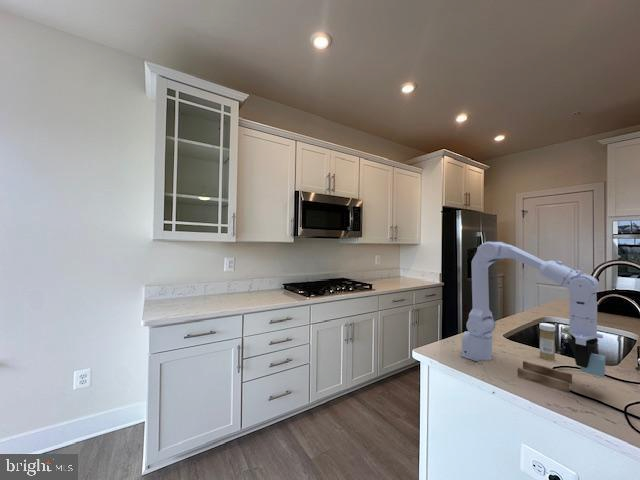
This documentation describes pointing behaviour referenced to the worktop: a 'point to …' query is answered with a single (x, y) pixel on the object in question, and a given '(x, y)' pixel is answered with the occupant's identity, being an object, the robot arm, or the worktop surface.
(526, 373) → the walnut channel
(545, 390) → the worktop surface
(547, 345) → the sprinkles bottle
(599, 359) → the blue block
